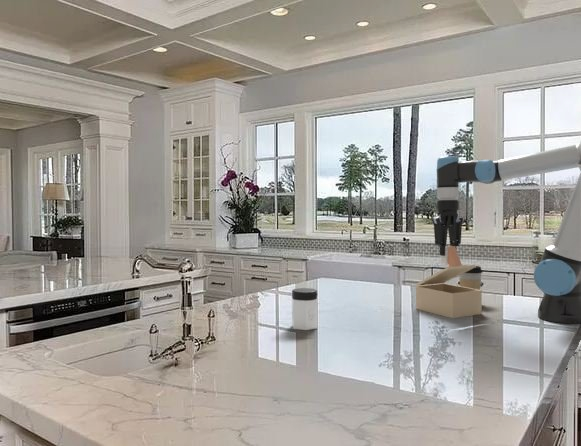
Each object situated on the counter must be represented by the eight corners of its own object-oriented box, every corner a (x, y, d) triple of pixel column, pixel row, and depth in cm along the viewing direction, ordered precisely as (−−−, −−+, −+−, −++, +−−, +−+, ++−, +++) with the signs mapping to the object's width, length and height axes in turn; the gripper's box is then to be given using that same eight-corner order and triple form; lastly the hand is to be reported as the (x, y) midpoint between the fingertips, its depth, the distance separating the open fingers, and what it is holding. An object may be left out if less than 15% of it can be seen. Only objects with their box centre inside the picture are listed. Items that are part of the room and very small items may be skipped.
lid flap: (476, 266, 175) (467, 244, 178) (448, 269, 169) (439, 245, 172) (443, 283, 189) (436, 261, 192) (416, 285, 183) (409, 263, 186)
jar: (300, 331, 152) (300, 293, 152) (286, 326, 159) (286, 289, 159) (323, 327, 157) (323, 290, 157) (308, 322, 164) (308, 287, 164)
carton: (481, 315, 174) (481, 290, 173) (452, 319, 167) (452, 293, 167) (443, 306, 190) (443, 283, 189) (416, 310, 183) (416, 286, 183)
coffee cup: (486, 306, 189) (486, 268, 188) (461, 306, 189) (461, 268, 188) (477, 302, 198) (477, 265, 198) (453, 302, 198) (454, 265, 198)
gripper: (455, 199, 184) (456, 262, 185) (423, 199, 177) (424, 264, 177) (471, 199, 178) (472, 263, 178) (439, 199, 170) (439, 266, 171)
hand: (448, 264), depth 178 cm, fingers closed on lid flap, 3 cm apart
